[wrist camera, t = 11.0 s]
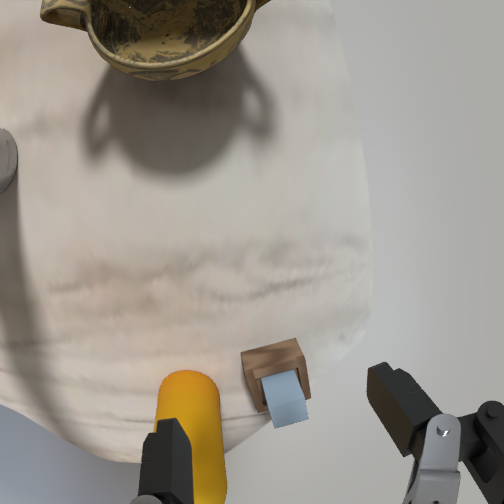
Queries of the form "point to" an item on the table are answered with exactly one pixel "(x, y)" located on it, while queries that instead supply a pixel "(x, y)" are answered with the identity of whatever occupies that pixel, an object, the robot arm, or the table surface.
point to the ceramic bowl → (157, 32)
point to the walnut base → (274, 368)
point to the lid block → (284, 398)
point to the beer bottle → (197, 429)
